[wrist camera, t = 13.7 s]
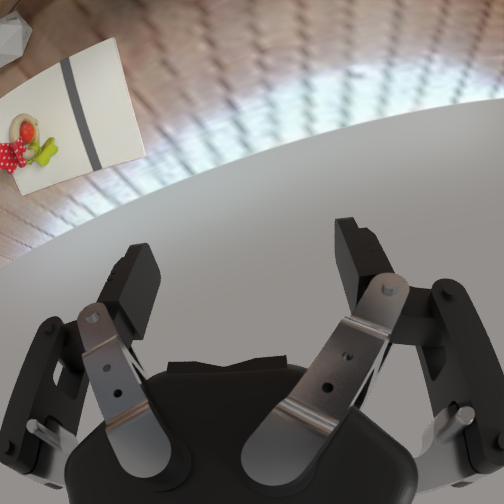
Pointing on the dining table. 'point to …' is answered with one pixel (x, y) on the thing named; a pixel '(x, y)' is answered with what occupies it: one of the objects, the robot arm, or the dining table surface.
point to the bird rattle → (20, 136)
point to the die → (13, 37)
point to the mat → (76, 116)
